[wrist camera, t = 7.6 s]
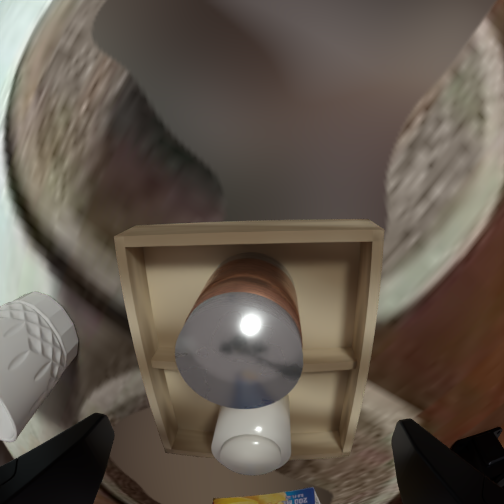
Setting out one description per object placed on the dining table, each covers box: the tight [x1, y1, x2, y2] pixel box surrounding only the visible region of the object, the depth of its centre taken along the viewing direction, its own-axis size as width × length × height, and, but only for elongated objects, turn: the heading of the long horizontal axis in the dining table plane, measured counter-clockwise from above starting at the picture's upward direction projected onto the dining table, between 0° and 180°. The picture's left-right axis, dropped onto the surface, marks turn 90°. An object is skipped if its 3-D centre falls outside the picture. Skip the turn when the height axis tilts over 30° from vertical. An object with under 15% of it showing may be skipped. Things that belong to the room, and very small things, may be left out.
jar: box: [211, 394, 291, 475], centre depth 19 cm, size 5×5×6 cm
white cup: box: [0, 291, 79, 442], centre depth 17 cm, size 8×8×10 cm
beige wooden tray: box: [114, 219, 384, 460], centre depth 19 cm, size 17×14×3 cm
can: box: [175, 252, 303, 409], centre depth 16 cm, size 5×5×7 cm
